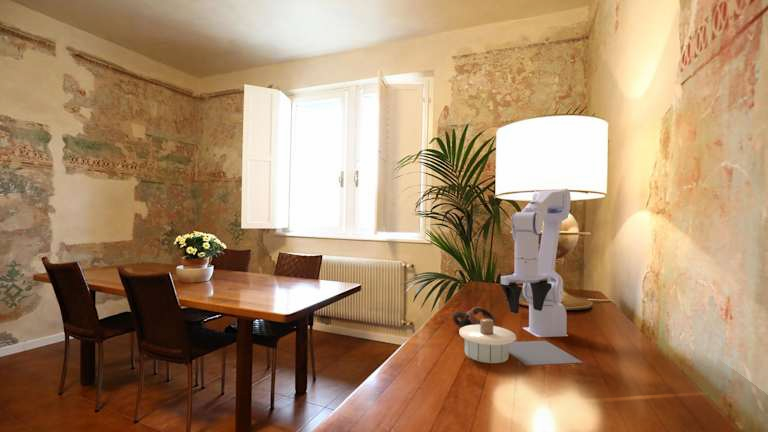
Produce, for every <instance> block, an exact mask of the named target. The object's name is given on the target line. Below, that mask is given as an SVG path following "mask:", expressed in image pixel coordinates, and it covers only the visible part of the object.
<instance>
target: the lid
mask: <svg viewBox="0 0 768 432" xmlns="http://www.w3.org/2000/svg"><path fill="white" fill-rule="evenodd" d="M479 320H480V325H468V326H464V327H462V328H459V330H458V332H459V336H460V337H461V338H463V340H465V339H466V340H468V341H471V342H474V343H478V344H484V345H507V344H511V343H513V342H516V340H517V335H516V334H515V333H514V332H513V331H511V330H509V329H506V328H505V327H501V326H496V325H495V326H493V320H491V319H490V318H481V319H479Z"/></svg>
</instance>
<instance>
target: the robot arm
mask: <svg viewBox="0 0 768 432" xmlns="http://www.w3.org/2000/svg"><path fill="white" fill-rule="evenodd" d="M571 197H572V196H571V192H570V190H569V189H568V188H562V189H542V190H541V189H540V190H539V189H536V190H535V191H534V192H533V194H532V200H530V201H529V203H528V204H526V206H525V207H524V208H523V209H522V210H521V211H516V212H515V213H514V214H512V215H511V219H510V227H511V233H512V240H513V241H514V255H513V256H514V263H513V264H514V265H513V266H514V270H513V271H514V272H513V273H512V274H507V275H501V276H500V287H501V288H502V290H503V293H504V294H505V297H506V299H507V300H506V301H507V303H508V306H509V311H510V312H511V313H513V314H518V313H519V310H520V309H519V308H520V297H521V292H522V295H523V297H524V299H526V302H527V303H528V327H522V329H524V330H525V331H526V332H529V334H532V335H533V336H535V337H537V338H551V337H568V336H569V334H567V329H568V328H567V326H568V325H567V319H568V318H567V310H566V308H565V306H564V305H563V304H562V303H561V302H562V301H563V298H564V297H563V296H564V280H563V278H562V276H561V275H560V274H559V273H558V272H556V271H555V266H556V259H557V253H558V245H559V237H560V232H561V227H562V223H563V221H565V220H567V219H568V218H569V214H570V211H571V202H572V201H571ZM542 227H543V228H542ZM541 232H542V233H541ZM540 234H541V238H540V237H539V235H540ZM539 238H540V239H541V240H540V239H539ZM539 240H540V244H539ZM518 284H523V285H522V286H518Z"/></svg>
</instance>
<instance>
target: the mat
mask: <svg viewBox="0 0 768 432" xmlns="http://www.w3.org/2000/svg"><path fill="white" fill-rule="evenodd" d="M509 354H510V355H512V356H513V357H514V358H516V360H518V361H519V362H521V363H522V364H523V365H524V366H540V365H541V366H543V365H565V364H583V363H584V362H583V361H581V360H580V359H578V358H576V357H575V356H573V355H571V354H570V353H568V352H566V351H564V350H563V349H561V348H560V347H558V346H556V345H555V344H553V343H550V342H549V341H547V340H532V341H531V340H529V341H527V340H526V341H515V342H513V343H511V344H509Z"/></svg>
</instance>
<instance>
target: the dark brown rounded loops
mask: <svg viewBox="0 0 768 432" xmlns="http://www.w3.org/2000/svg"><path fill="white" fill-rule="evenodd" d="M480 312H481V313H482V316H484V317H487V318H488V319H491V320H493V326H496V325H495V323H496V318H495V316H494V315H493V314H492V313H491V311H489V310H488V309H485V308H483V307H480V306H475V307H472V308H471V309H470V310H467V311H466V312H463V311H455V312H454V313H453V314H452V317H451V318H452V322H453V323H454V325H455V326H457V327H459V329H460V328H462V327H464V326H468V325H480V320H481V319H478V317H477V316H476V315H478V314H479V313H480ZM459 319H460V320H459Z"/></svg>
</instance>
